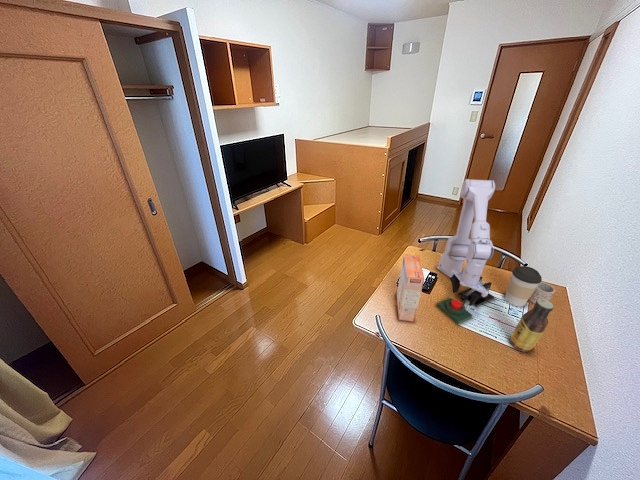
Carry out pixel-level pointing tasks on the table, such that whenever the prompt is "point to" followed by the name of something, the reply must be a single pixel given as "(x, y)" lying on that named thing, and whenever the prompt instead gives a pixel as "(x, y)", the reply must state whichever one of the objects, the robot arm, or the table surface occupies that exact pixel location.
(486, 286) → the bracket
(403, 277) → the cracker box
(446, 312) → the block
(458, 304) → the button
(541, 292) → the mug
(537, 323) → the sauce bottle
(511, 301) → the coffee cup
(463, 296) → the lever
